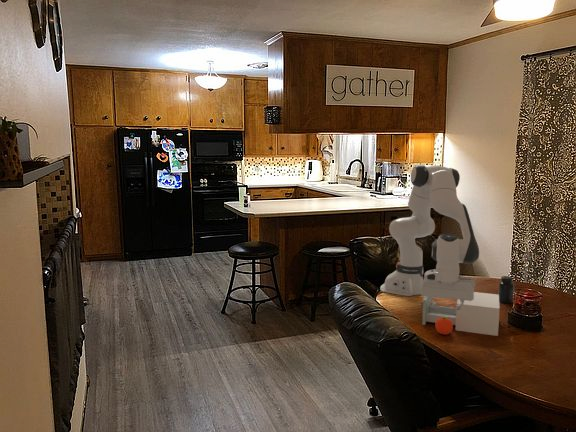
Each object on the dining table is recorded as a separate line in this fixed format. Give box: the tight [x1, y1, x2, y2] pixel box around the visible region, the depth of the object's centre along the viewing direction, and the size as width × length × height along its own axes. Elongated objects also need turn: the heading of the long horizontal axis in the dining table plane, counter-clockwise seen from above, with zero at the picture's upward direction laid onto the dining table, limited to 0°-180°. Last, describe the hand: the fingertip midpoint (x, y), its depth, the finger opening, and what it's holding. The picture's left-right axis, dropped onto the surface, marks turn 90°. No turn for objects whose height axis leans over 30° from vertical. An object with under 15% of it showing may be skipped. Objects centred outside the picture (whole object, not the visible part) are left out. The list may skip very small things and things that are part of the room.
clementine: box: [434, 317, 454, 336], centre depth 190 cm, size 8×7×7 cm
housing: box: [455, 291, 500, 337], centre depth 198 cm, size 16×18×12 cm
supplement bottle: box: [497, 275, 515, 304], centre depth 226 cm, size 7×7×12 cm
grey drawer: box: [420, 296, 456, 326], centre depth 204 cm, size 16×18×11 cm
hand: (446, 308), depth 189 cm, fingers open, 8 cm apart
